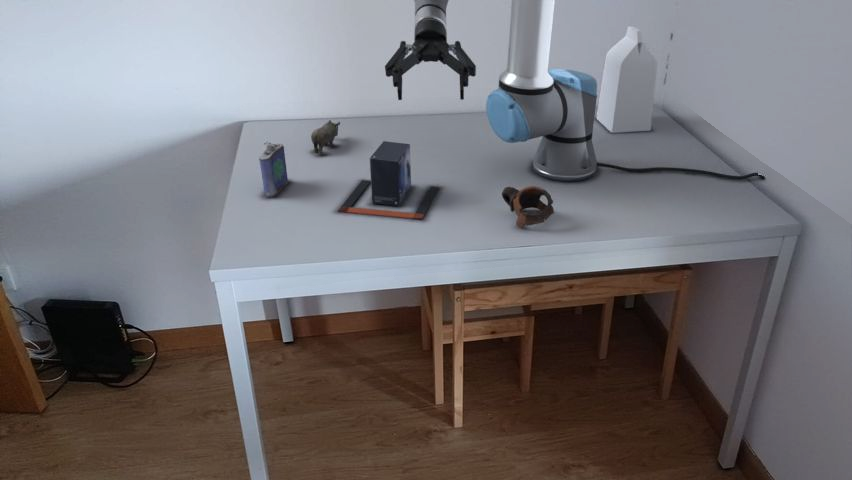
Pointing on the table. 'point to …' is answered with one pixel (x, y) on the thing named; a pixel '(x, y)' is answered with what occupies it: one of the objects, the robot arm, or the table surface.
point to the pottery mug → (528, 204)
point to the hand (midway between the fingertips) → (430, 95)
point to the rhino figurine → (324, 136)
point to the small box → (390, 173)
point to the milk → (628, 85)
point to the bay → (418, 215)
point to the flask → (273, 169)
